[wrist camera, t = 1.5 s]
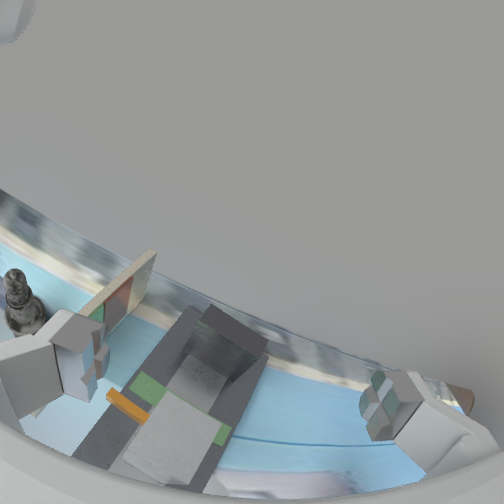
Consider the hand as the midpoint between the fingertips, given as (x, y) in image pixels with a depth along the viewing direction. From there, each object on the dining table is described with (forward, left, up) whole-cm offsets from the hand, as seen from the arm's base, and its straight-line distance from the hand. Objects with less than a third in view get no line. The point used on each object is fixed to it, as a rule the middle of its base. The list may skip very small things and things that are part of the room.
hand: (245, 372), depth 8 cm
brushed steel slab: (-1, +1, -27) cm, 27 cm away
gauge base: (-6, +5, -29) cm, 30 cm away
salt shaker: (-20, -7, -29) cm, 36 cm away
